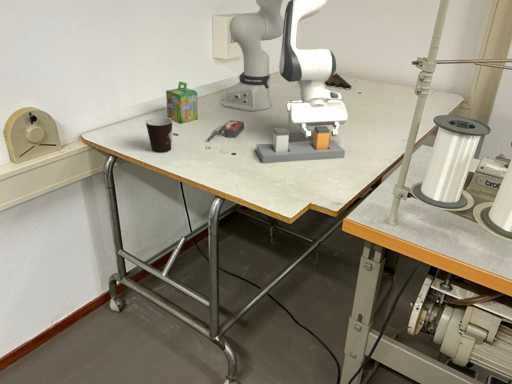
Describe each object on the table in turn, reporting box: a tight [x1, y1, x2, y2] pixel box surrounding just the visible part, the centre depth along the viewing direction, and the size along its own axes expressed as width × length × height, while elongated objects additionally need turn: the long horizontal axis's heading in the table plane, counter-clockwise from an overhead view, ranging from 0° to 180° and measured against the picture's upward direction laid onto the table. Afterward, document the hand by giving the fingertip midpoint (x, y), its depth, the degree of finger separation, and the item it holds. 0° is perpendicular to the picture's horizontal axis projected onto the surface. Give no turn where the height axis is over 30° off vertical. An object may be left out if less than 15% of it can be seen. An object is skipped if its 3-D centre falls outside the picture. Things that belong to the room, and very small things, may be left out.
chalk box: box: [165, 81, 199, 124], centre depth 165 cm, size 9×9×15 cm
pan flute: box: [325, 73, 352, 89], centre depth 227 cm, size 25×3×25 cm
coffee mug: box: [145, 116, 173, 154], centre depth 139 cm, size 12×9×10 cm
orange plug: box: [312, 125, 331, 150], centre depth 139 cm, size 4×4×9 cm
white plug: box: [272, 127, 290, 153], centre depth 136 cm, size 4×4×9 cm
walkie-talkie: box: [207, 119, 245, 142], centre depth 154 cm, size 9×4×20 cm
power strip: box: [255, 139, 346, 164], centre depth 139 cm, size 28×10×2 cm, turn 102°
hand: (321, 136), depth 137 cm, fingers open, 8 cm apart
